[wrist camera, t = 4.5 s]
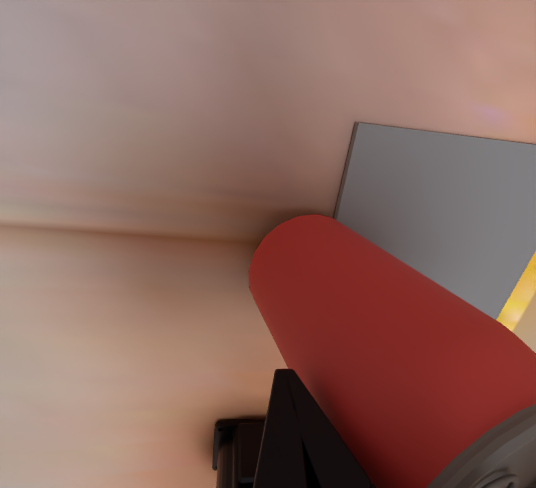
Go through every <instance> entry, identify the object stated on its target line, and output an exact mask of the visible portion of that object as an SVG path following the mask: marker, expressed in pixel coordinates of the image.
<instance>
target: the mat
mask: <svg viewBox="0 0 536 488" xmlns="http://www.w3.org/2000/svg"><path fill="white" fill-rule="evenodd" d="M334 219H335V220H337V221H338V222H340V223H342V224H343V225H345V226H346V227H348V228H350V229H351V230H353V231H354V232H356V233H358V234H359V235H361V236H362V237H364V238H365V239H367V240H369V241H370V242H372V243H373V244H375V245H377V246H378V247H380V248H381V249H383V250H385V251H386V252H388V253H389V254H391V255H393V256H394V257H396V258H397V259H399V260H401V261H402V262H404V263H405V264H407V265H409V266H410V267H412V268H413V269H415V270H417V271H418V272H420V273H421V274H423V275H425V276H426V277H428V278H429V279H431V280H433V281H434V282H436V283H437V284H439V285H440V286H442V287H444V288H445V289H447V290H448V291H450V292H452V293H453V294H455V295H456V296H458V297H460V298H461V299H463V300H464V301H466V302H468V303H469V304H471V305H472V306H474V307H476V308H477V309H479V310H480V311H482V312H484V313H485V314H487V315H488V316H490V317H492V318H493V319H495V320H496V319H497V317H498V316H499V314H500V312H501V310H502V309H503V307H504V305H505V303H506V302H507V300H508V298H509V296H510V295H511V293H512V291H513V289H514V288H515V286H516V284H517V282H518V281H519V279H520V277H521V275H522V274H523V272H524V270H525V268H526V267H527V265H528V263H529V261H530V260H531V258H532V256H533V254H534V253H535V251H536V145H535V144H527V143H519V142H511V141H503V140H495V139H487V138H479V137H471V136H463V135H455V134H447V133H439V132H431V131H423V130H415V129H407V128H399V127H391V126H383V125H375V124H367V123H359V122H355V126H354V130H353V135H352V139H351V144H350V148H349V152H348V157H347V161H346V166H345V170H344V174H343V179H342V183H341V188H340V192H339V197H338V201H337V205H336V210H335V214H334Z"/></svg>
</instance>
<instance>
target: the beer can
mask: <svg viewBox="0 0 536 488" xmlns="http://www.w3.org/2000/svg"><path fill="white" fill-rule="evenodd" d="M249 288H250V291H251V293H252V295H253V298H254V300H255V302H256V304H257V306H258V308H259V310H260V312H261V314H262V316H263V318H264V320H265V322H266V324H267V326H268V328H269V330H270V332H271V334H272V336H273V338H274V340H275V342H276V344H277V346H278V348H279V350H280V352H281V354H282V356H283V358H284V360H285V362H286V364H287V366H288V368H289V369H293V370H295V372H296V373H297V375H298V376H299V378H300V379H301V380H302V382H303V383H304V385H305V386H306V388H307V389H308V390H309V392H310V393H311V395H312V396H313V398H314V399H315V400H316V402H317V403H318V405H319V406H320V408H321V409H322V411H323V412H324V413H325V415H326V416H327V418H328V419H329V421H330V422H331V423H332V425H333V426H334V428H335V429H336V431H337V432H338V434H339V435H340V436H341V438H342V439H343V441H344V442H345V444H346V445H347V446H348V448H349V449H350V451H351V452H352V454H353V455H354V456H355V458H356V459H357V461H358V462H359V464H360V465H361V467H362V468H363V469H364V471H365V472H366V474H367V475H368V477H369V478H370V479H371V483H373V484H374V485H375V486H376V488H536V353H535V352H534V351H532V350H531V349H530V348H529V347H528V346H527V345H526V344H525V343H524V342H523V341H522V340H521V339H519V338H518V337H517V336H516V335H515V334H514V333H513V332H511V331H510V330H509V329H508V328H506V327H505V326H504V325H502V324H501V323H500V322H498V321H496V320H495V319H493V318H492V317H490V316H488V315H487V314H485V313H484V312H482V311H480V310H479V309H477V308H476V307H474V306H472V305H471V304H469V303H468V302H466V301H464V300H463V299H461V298H460V297H458V296H456V295H455V294H453V293H452V292H450V291H448V290H447V289H445V288H444V287H442V286H440V285H439V284H437V283H436V282H434V281H433V280H431V279H429V278H428V277H426V276H425V275H423V274H421V273H420V272H418V271H417V270H415V269H413V268H412V267H410V266H409V265H407V264H405V263H404V262H402V261H401V260H399V259H397V258H396V257H394V256H393V255H391V254H389V253H388V252H386V251H385V250H383V249H381V248H380V247H378V246H377V245H375V244H373V243H372V242H370V241H369V240H367V239H365V238H364V237H362V236H361V235H359V234H358V233H356V232H354V231H353V230H351V229H350V228H348V227H346V226H345V225H343V224H342V223H340V222H338V221H337V220H335V219H334V218H331V217H327V216H323V215H318V214H313V215H304V216H297V217H295V218H293V219H290V220H288V221H286V222H283V223H281V224H279V225H278V226H277V227H276V228H275V229H273V230H272V231H271V232H270V233H269V234H267V235H266V236H265V237H264V239H263V240H262V242H261V243H260V245H259V246H258V248H257V249H256V251H255V252H254V255H253V258H252V262H251V265H250V268H249Z"/></svg>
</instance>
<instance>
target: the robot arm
mask: <svg viewBox="0 0 536 488" xmlns="http://www.w3.org/2000/svg"><path fill="white" fill-rule="evenodd" d="M212 468H213V470H217V482H216V488H376V486H375V485H374V484H373V483H371V479H370V478H369V477H368V475H367V474H366V472H365V471H364V469H363V468H362V467H361V465H360V464H359V462H358V461H357V459H356V458H355V456H354V455H353V454H352V452H351V451H350V449H349V448H348V446H347V445H346V444H345V442H344V441H343V439H342V438H341V436H340V435H339V434H338V432H337V431H336V429H335V428H334V426H333V425H332V423H331V422H330V421H329V419H328V418H327V416H326V415H325V413H324V412H323V411H322V409H321V408H320V406H319V405H318V403H317V402H316V400H315V399H314V398H313V396H312V395H311V393H310V392H309V390H308V389H307V388H306V386H305V385H304V383H303V382H302V380H301V379H300V378H299V376H298V375H297V373H296V372H295V370H293V369H276V370H275V373H274V379H273V384H272V389H271V395H270V400H269V405H268V411H267V416H266V420H243V421H219V422H217V423H215V432H214V449H213V466H212Z"/></svg>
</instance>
